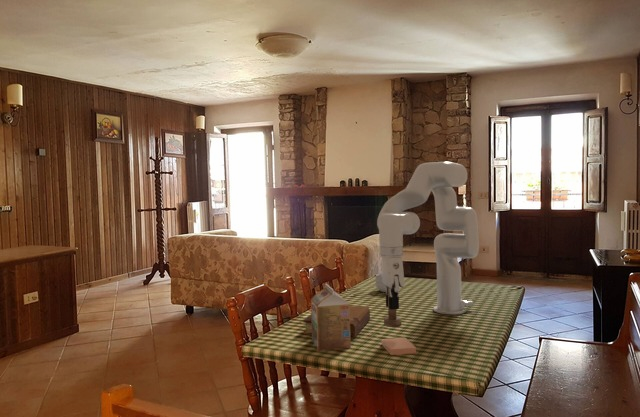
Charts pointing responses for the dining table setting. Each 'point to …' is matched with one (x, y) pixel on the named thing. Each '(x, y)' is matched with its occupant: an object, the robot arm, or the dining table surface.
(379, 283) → the teacup
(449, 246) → the robot arm
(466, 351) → the dining table surface
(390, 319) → the post
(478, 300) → the dining table surface
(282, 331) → the dining table surface
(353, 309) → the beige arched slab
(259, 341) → the dining table surface
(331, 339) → the milk carton
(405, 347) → the tile
